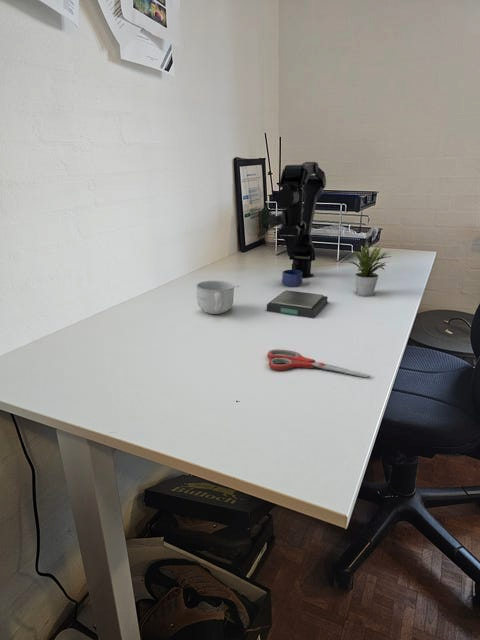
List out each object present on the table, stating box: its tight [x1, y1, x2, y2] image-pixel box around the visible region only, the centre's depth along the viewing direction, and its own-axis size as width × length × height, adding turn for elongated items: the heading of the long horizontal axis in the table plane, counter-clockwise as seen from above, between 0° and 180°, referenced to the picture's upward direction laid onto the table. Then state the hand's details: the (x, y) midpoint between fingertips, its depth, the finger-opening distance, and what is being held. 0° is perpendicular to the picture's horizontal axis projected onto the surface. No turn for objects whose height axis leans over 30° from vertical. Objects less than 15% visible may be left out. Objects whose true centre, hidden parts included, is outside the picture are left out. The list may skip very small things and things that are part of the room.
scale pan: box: [270, 289, 325, 309], centre depth 118 cm, size 12×12×1 cm
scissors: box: [266, 348, 370, 378], centre depth 84 cm, size 8×21×2 cm, turn 78°
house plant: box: [347, 243, 393, 297], centre depth 125 cm, size 14×14×16 cm
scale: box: [266, 291, 329, 319], centre depth 118 cm, size 14×14×2 cm
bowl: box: [281, 269, 303, 288], centre depth 139 cm, size 7×7×4 cm
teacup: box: [195, 280, 235, 315], centre depth 114 cm, size 14×11×8 cm
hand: (292, 253), depth 136 cm, fingers open, 9 cm apart
